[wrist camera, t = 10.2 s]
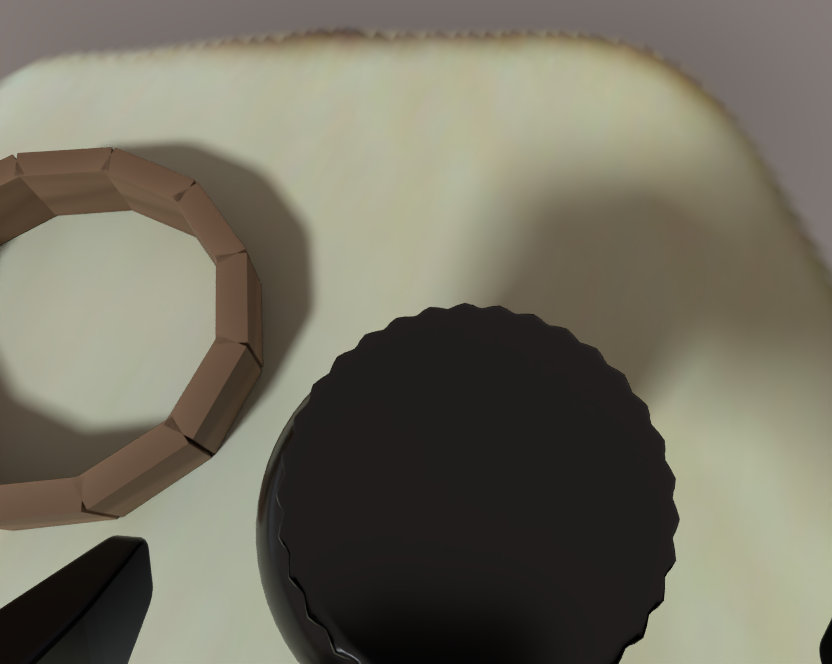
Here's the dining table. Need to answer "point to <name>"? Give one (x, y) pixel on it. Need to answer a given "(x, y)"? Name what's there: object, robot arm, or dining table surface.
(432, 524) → the supplement bottle
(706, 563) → the dining table surface
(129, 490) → the ring holder
